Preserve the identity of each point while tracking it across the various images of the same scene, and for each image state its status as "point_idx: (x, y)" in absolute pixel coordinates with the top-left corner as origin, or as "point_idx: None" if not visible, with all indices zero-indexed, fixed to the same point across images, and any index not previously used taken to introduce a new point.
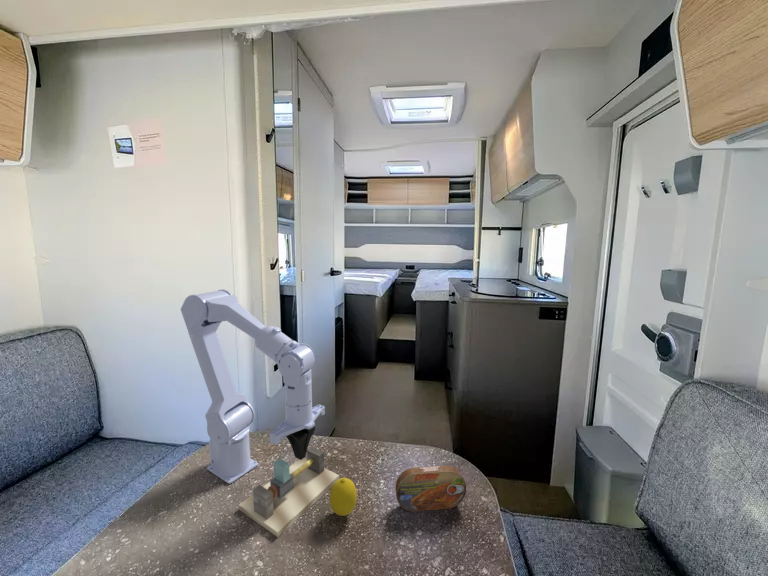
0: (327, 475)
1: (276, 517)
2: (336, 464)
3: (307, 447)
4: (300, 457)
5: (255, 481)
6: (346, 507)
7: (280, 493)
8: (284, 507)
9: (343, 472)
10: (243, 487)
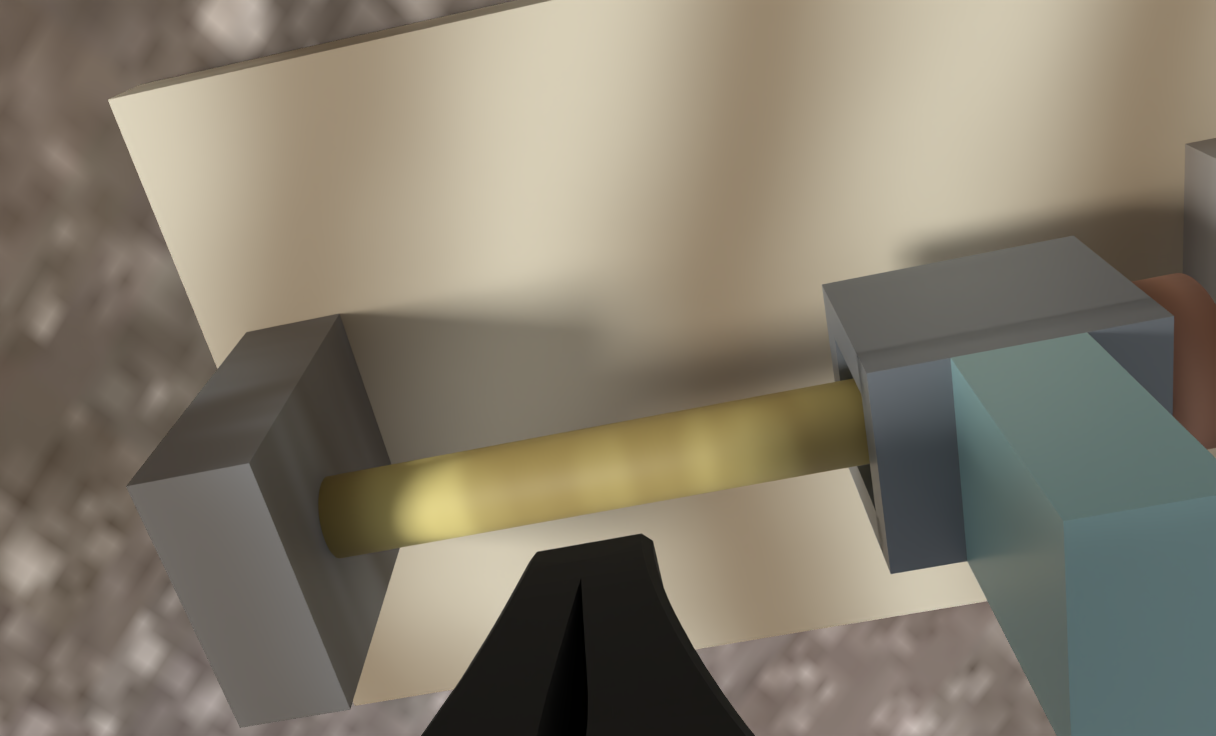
0: (257, 219)
1: (1201, 65)
2: (28, 353)
3: (474, 667)
4: (656, 573)
5: (918, 726)
6: None
7: (1104, 267)
8: (1024, 142)
9: (13, 161)
10: (1046, 730)
